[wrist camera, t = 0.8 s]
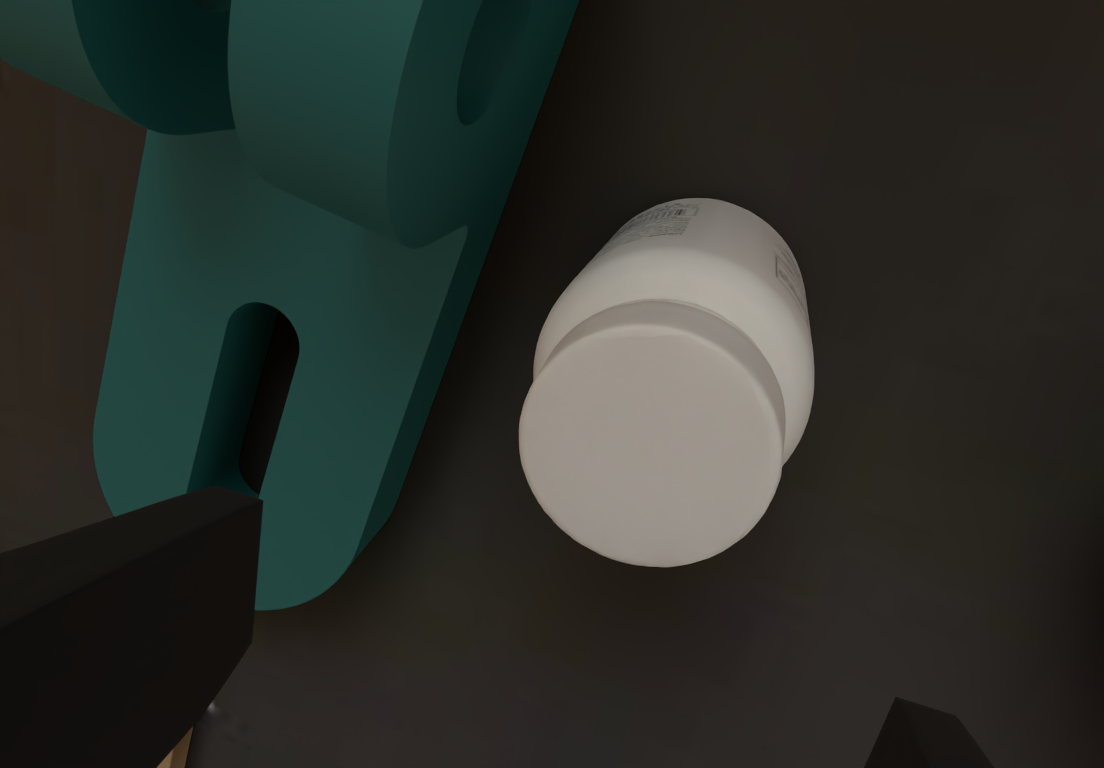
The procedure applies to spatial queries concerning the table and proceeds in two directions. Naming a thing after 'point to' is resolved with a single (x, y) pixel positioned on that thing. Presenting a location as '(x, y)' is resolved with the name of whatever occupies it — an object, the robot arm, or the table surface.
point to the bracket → (294, 235)
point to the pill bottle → (670, 386)
